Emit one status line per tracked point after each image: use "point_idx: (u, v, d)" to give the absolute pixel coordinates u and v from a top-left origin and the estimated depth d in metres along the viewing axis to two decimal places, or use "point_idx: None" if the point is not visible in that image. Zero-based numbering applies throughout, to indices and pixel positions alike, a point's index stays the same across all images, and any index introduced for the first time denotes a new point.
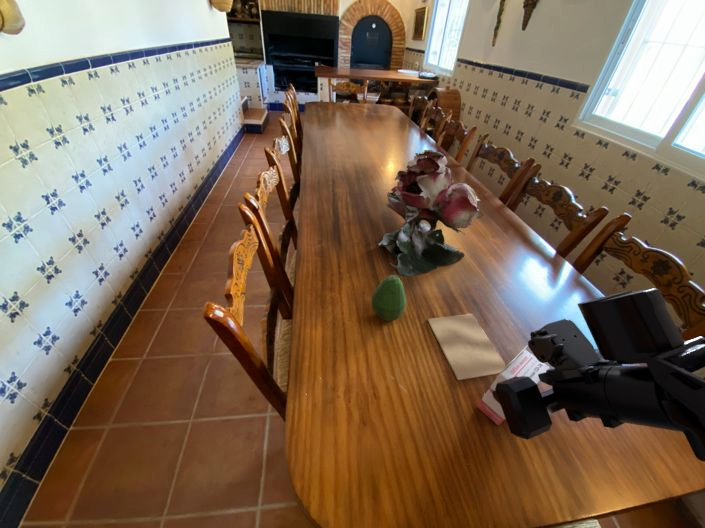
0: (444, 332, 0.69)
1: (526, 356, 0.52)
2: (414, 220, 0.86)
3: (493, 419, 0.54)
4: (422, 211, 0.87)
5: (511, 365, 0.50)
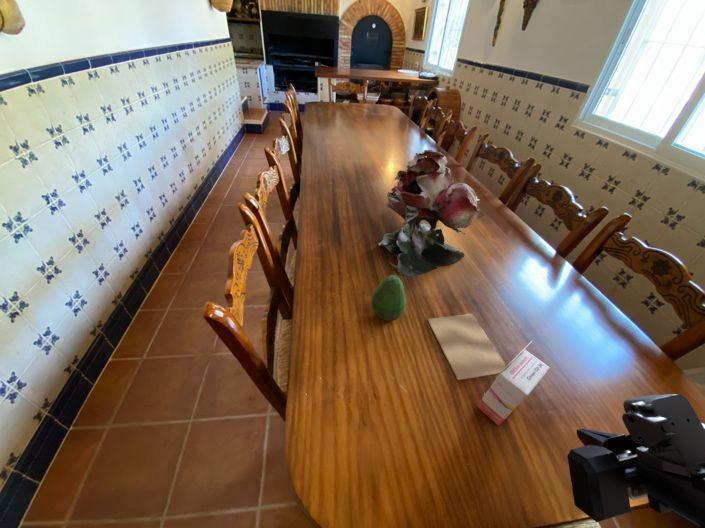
0: (444, 332, 0.69)
1: (526, 356, 0.52)
2: (414, 220, 0.86)
3: (493, 419, 0.54)
4: (422, 211, 0.87)
5: (511, 365, 0.50)
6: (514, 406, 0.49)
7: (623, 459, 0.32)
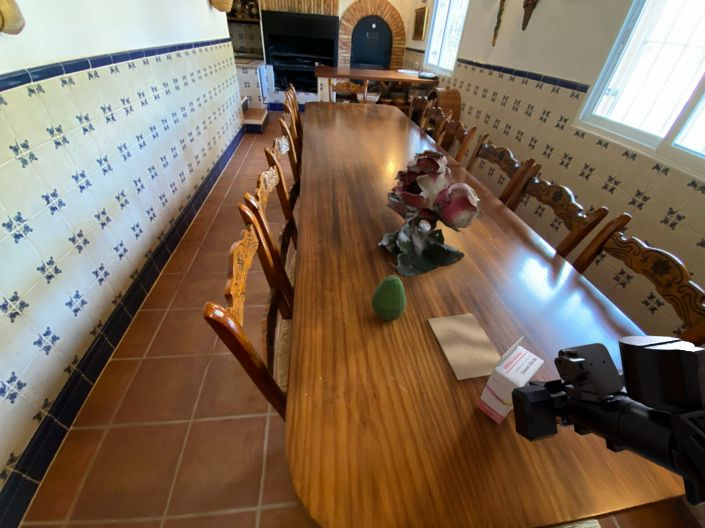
0: (444, 332, 0.69)
1: (520, 351, 0.53)
2: (414, 220, 0.86)
3: (493, 418, 0.54)
4: (422, 211, 0.87)
5: (505, 360, 0.51)
6: (511, 401, 0.49)
7: (555, 395, 0.40)
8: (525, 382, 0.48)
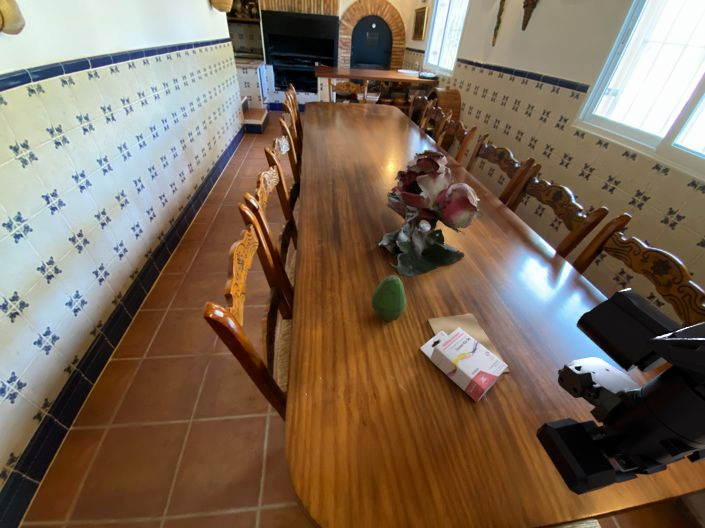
0: None
1: None
2: (414, 220, 0.86)
3: (479, 391, 0.55)
4: (422, 211, 0.87)
5: None
6: (451, 361, 0.58)
7: (589, 428, 0.33)
8: None
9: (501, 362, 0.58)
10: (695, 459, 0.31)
